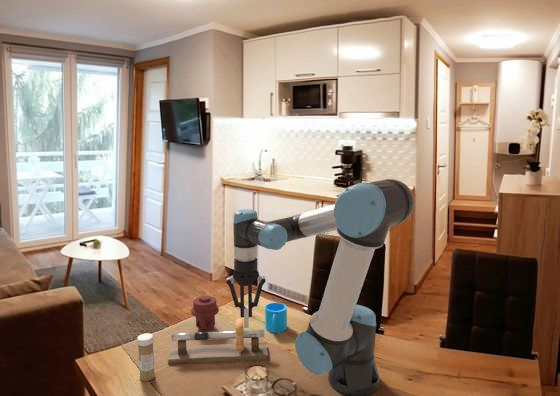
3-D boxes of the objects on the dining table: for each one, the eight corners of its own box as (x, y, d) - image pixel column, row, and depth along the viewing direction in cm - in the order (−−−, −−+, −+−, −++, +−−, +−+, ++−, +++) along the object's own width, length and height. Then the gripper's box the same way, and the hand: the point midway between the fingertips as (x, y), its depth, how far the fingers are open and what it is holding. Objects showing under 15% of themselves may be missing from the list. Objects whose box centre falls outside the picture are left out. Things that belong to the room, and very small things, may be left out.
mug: (266, 321, 168) (266, 302, 166) (287, 322, 167) (287, 303, 166) (262, 337, 156) (262, 316, 155) (284, 338, 155) (285, 317, 154)
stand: (267, 359, 142) (267, 342, 141) (168, 363, 139) (167, 347, 138) (266, 346, 150) (266, 331, 149) (172, 350, 147) (171, 334, 146)
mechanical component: (196, 321, 168) (221, 323, 167) (188, 334, 158) (215, 335, 157) (195, 291, 166) (221, 292, 165) (187, 302, 156) (214, 303, 155)
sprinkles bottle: (141, 373, 134) (139, 333, 131) (156, 372, 134) (154, 332, 132) (138, 382, 129) (135, 340, 127) (153, 381, 130) (151, 339, 127)
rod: (263, 335, 146) (263, 328, 145) (264, 338, 143) (264, 331, 143) (173, 338, 143) (172, 331, 143) (171, 342, 141) (171, 335, 140)
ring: (243, 351, 141) (243, 328, 139) (236, 352, 140) (235, 329, 139) (243, 339, 148) (243, 317, 147) (236, 339, 148) (236, 317, 147)
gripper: (265, 253, 143) (265, 320, 148) (225, 254, 142) (227, 321, 147) (266, 261, 136) (266, 330, 140) (224, 261, 135) (226, 332, 139)
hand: (246, 325), depth 144 cm, fingers closed
